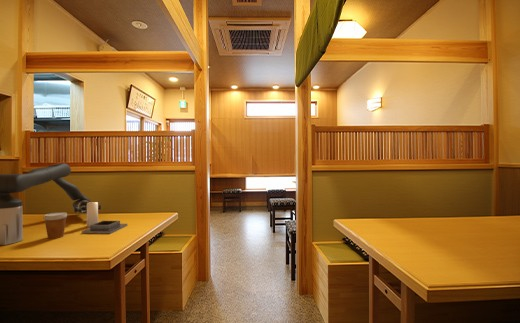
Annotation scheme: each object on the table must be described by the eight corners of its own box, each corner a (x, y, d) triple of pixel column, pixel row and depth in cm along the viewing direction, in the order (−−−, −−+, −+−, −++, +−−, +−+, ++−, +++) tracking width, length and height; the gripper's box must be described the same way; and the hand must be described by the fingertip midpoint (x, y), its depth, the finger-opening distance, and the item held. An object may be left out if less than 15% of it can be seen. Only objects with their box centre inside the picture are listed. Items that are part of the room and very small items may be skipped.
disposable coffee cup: (72, 234, 129) (72, 212, 129) (55, 240, 119) (55, 216, 119) (56, 233, 130) (56, 211, 130) (38, 239, 120) (38, 215, 120)
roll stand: (110, 233, 130) (110, 226, 130) (81, 233, 130) (81, 226, 130) (127, 225, 146) (127, 219, 146) (101, 225, 146) (101, 219, 146)
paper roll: (93, 227, 142) (93, 203, 142) (84, 227, 143) (84, 203, 142) (100, 224, 148) (100, 201, 148) (91, 224, 148) (91, 201, 148)
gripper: (72, 202, 160) (75, 205, 148) (97, 199, 170) (102, 202, 158) (72, 213, 160) (75, 217, 148) (97, 210, 170) (102, 214, 158)
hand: (89, 210), depth 153 cm, fingers open, 8 cm apart
